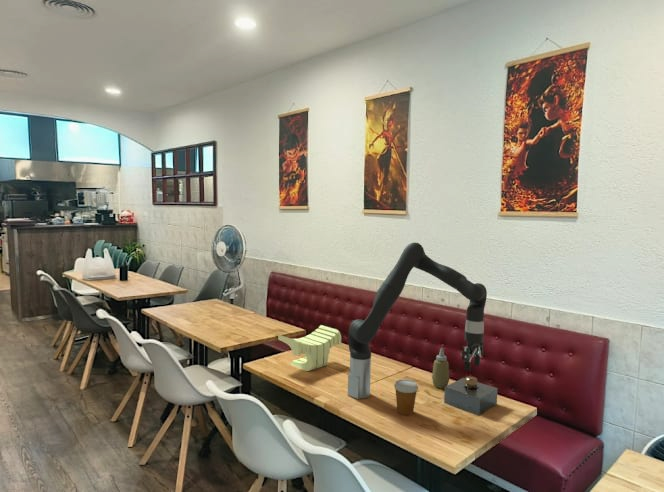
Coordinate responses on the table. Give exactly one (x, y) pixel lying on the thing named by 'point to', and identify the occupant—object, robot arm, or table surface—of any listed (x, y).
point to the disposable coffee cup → (405, 396)
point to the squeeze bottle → (440, 371)
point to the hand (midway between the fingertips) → (472, 367)
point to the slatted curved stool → (313, 347)
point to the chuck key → (471, 383)
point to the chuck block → (471, 397)
